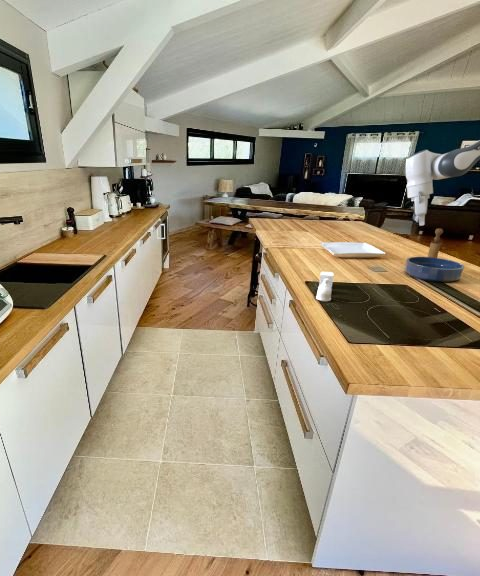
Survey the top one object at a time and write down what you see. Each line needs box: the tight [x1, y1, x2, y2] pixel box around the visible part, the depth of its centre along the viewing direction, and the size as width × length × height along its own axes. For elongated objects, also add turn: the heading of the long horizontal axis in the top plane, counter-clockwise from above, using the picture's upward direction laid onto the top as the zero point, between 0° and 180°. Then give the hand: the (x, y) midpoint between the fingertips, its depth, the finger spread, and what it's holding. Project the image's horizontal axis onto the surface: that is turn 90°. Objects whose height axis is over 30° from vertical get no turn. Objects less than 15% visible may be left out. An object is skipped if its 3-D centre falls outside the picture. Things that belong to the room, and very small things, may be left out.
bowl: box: [403, 256, 465, 283], centre depth 140 cm, size 21×21×6 cm
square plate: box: [319, 241, 387, 259], centre depth 179 cm, size 27×27×4 cm
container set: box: [315, 271, 335, 302], centre depth 123 cm, size 20×5×6 cm, turn 156°
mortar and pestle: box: [426, 228, 444, 258], centre depth 154 cm, size 7×6×18 cm
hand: (422, 224), depth 135 cm, fingers open, 8 cm apart
